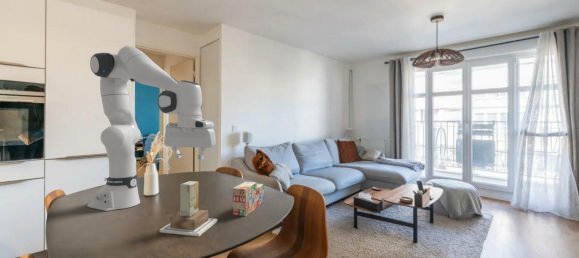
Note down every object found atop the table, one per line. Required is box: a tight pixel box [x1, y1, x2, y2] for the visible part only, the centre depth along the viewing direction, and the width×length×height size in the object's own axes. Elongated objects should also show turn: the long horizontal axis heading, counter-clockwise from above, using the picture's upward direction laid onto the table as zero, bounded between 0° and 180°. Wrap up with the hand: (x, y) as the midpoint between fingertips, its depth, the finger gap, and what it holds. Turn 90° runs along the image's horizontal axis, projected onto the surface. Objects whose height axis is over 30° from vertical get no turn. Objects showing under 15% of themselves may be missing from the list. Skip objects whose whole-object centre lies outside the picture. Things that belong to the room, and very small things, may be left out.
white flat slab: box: [159, 217, 218, 237], centre depth 101 cm, size 16×14×1 cm
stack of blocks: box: [232, 181, 265, 217], centre depth 123 cm, size 21×6×12 cm, turn 164°
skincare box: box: [179, 180, 200, 217], centre depth 101 cm, size 6×4×12 cm
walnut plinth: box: [169, 209, 209, 231], centre depth 101 cm, size 10×10×4 cm
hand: (189, 158), depth 100 cm, fingers open, 8 cm apart
